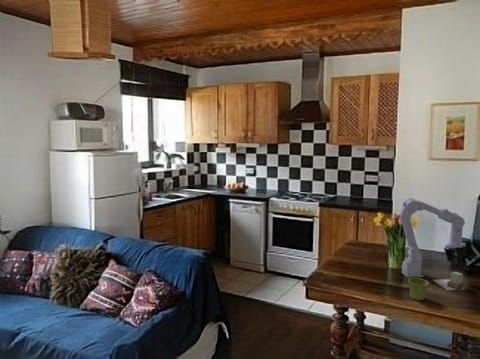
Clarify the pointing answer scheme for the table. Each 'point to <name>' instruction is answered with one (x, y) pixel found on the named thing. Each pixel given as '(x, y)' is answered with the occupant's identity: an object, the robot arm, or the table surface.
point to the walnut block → (456, 285)
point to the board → (445, 284)
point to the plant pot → (418, 288)
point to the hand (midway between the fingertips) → (454, 260)
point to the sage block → (456, 277)
